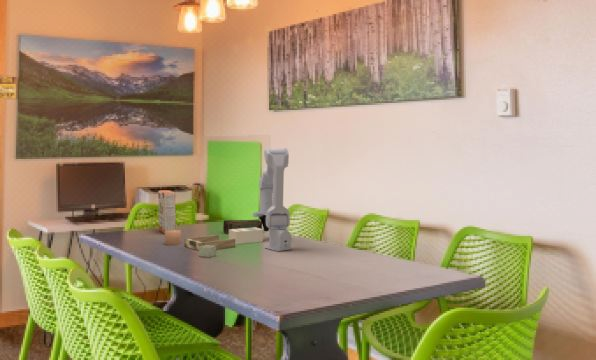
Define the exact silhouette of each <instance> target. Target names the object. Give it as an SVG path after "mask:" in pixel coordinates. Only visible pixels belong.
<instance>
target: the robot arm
mask: <svg viewBox="0 0 596 360" xmlns="http://www.w3.org/2000/svg"><path fill="white" fill-rule="evenodd" d="M263 156H264V161H265V163H266V167H265V168H264V170H263V173H262V176H260V177H259V180H258V181H259V182H258V187H259V190H260V199H259V200H260V205H259V207H260V208H259V210H260V211H255V212H253V213H252V218H259V220H260V221H261V222H262V229H263V232H269V235H268V238H269V241H268V242H269V244H268V245H269V246H265V249H268V250H273V251H276V252H282V251H287V250H289V251H290V250H292V249H293V248H292V246H291V245H292V244H291V242H292V240H291V239H292V236H291V232H290V231H289V230H287V229H288V228H289V227H290V225H291V218H290V217H291V216H290V211H289V209H288V208H287V207H285V206H284V180H285V179H284V175H285V169H286V168H287V167H289V149H288V148H286V147H284V148H281V147H280V148H279V147H276V148H275V147H273V148H272V147H271V148H269V147H266V148H265V149H264V155H263Z"/></svg>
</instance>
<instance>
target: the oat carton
mask: <svg viewBox="0 0 596 360" xmlns="http://www.w3.org/2000/svg"><path fill="white" fill-rule="evenodd" d="M228 239H235V245H245V244H254V243H256V244H257V243H263V242H264V229H263V228H262V229H260V228H256V227H254V228H242V229H229V234H228Z"/></svg>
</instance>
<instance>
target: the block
mask: <svg viewBox="0 0 596 360" xmlns="http://www.w3.org/2000/svg"><path fill="white" fill-rule="evenodd" d="M164 242H165V243H164V244H165V245H166V246H179V244H180V245H182V230H181V229H176V230H166V231H165V234H164Z"/></svg>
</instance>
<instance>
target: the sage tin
mask: <svg viewBox="0 0 596 360" xmlns="http://www.w3.org/2000/svg"><path fill="white" fill-rule="evenodd" d="M215 255H216V256H217V249H216V246H211V245H204V246H200V247H199V251H198V257H202V258H208V257H209V258H212V257H215Z"/></svg>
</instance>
